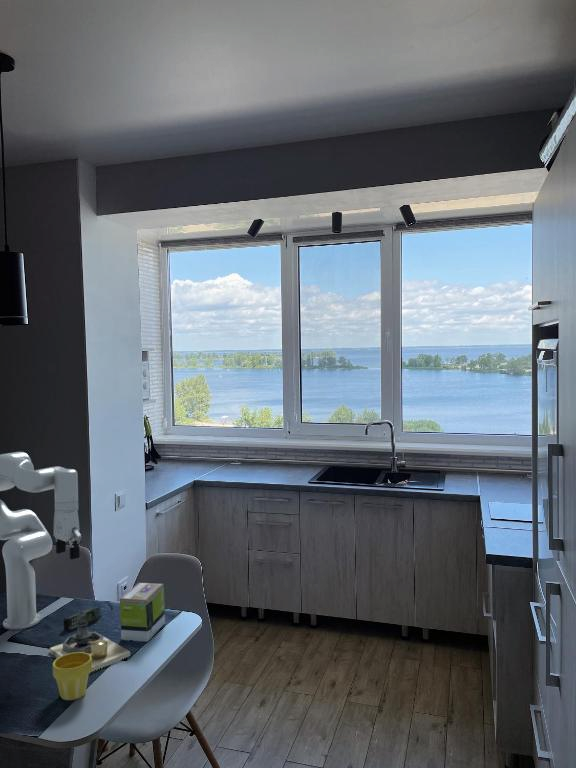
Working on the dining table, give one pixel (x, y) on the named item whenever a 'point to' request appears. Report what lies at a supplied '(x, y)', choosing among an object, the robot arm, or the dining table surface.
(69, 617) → the mobile phone
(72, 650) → the ring holder
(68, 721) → the dining table surface
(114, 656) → the birch board
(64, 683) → the plant pot
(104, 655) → the brass post
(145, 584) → the tea box
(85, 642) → the grey knobbed cylinder
